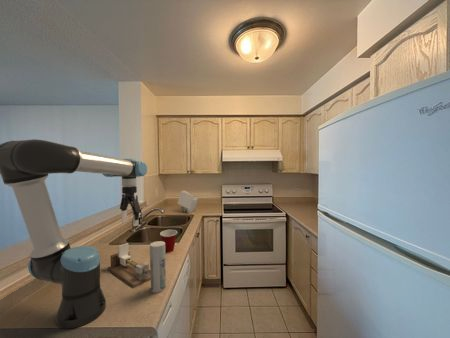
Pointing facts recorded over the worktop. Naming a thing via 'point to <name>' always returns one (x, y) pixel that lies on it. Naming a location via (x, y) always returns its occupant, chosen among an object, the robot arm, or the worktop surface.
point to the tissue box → (187, 201)
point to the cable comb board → (130, 271)
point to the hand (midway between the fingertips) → (130, 223)
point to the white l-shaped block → (124, 253)
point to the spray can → (157, 266)
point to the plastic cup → (169, 239)
